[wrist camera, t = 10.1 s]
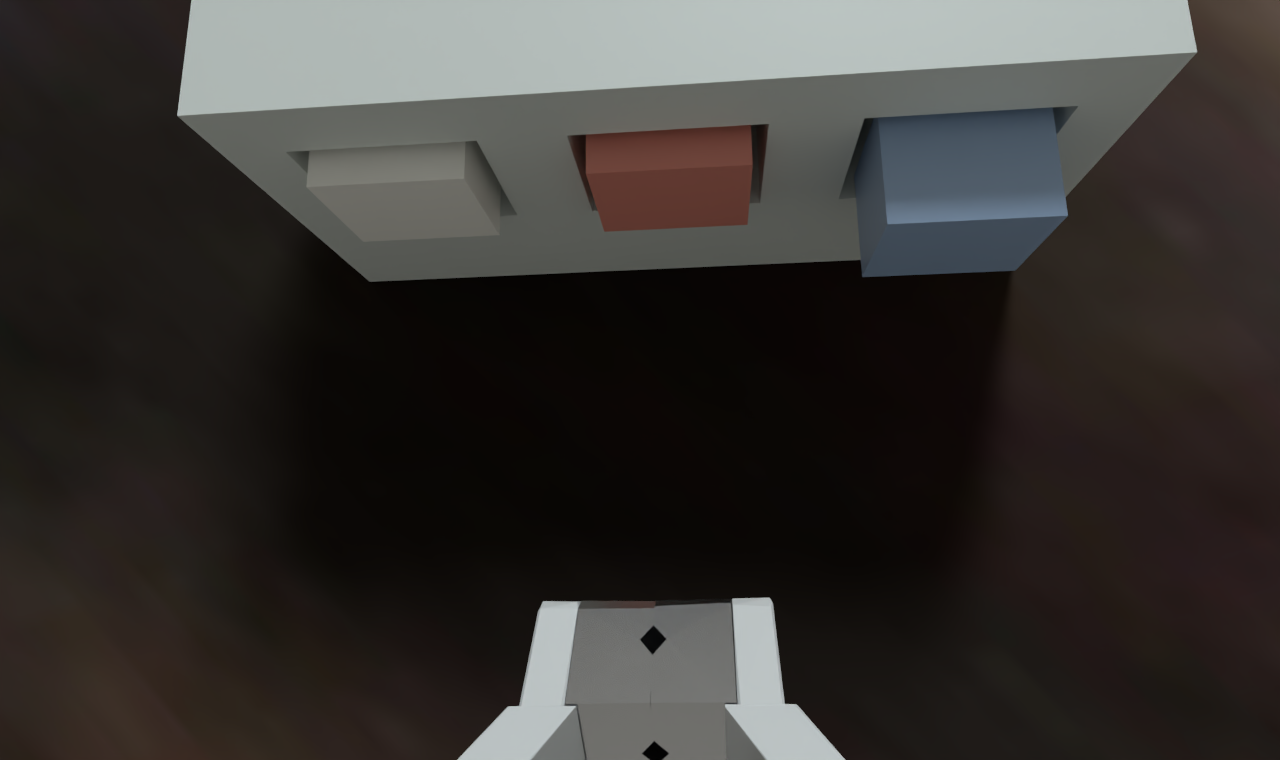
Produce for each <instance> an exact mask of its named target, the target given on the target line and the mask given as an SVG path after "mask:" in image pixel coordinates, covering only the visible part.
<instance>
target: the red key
mask: <svg viewBox="0 0 1280 760" xmlns="http://www.w3.org/2000/svg"><path fill="white" fill-rule="evenodd" d="M752 168H753V159H752V139H751V125H740V126H723V127H706V128H689V129H671V130H654V131H637V132H620V133H603V134H586V176H587V179H588V182H589V185H590V188H591V192H592V195H593V198H594V201H595V204H596V207H597V210H598V213H599V216H600V220H601V223H602V226H603V229H604V232H610V231H631V230H651V229H672V228H692V227H713V226H734V225H748V214H749V202H750V191H751V179H752Z"/></svg>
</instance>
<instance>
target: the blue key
mask: <svg viewBox="0 0 1280 760" xmlns="http://www.w3.org/2000/svg"><path fill="white" fill-rule="evenodd" d="M854 180H855V193H856V206H857V218H858V231H859V244H860V256H861V269H862V277H878V276H901V275H924V274H947V273H971V272H994V271H1015V270H1016V269H1017V268H1018V267H1019V266H1020V265H1021V264H1022V263H1023V262H1024V261H1025V260H1026V259H1027V258H1028V257H1029V256H1030V255H1031V254H1032V253H1033V251H1034V250H1035V249H1036V248H1037V247H1038V246H1039V245H1040V244H1041V243H1042V242H1043V241H1044V240H1045V239H1046V238H1047V237H1048V236H1049V235H1050V234H1051V233H1052V232H1053V231H1054V230H1055V229H1056V228H1057V227H1058V225H1059V224H1060V223H1061V222H1062V221H1063V220H1064V219H1065V218H1066V217H1067V216H1068V213H1067V206H1066V199H1065V191H1064V184H1063V177H1062V170H1061V163H1060V156H1059V149H1058V142H1057V135H1056V128H1055V121H1054V113H1053V107H1050V108H1033V109H1016V110H999V111H982V112H964V113H947V114H930V115H913V116H895V117H878V118H873V121H872V124H871V127H870V130H869V133H868V136H867V139H866V142H865V145H864V147H863V150H862V153H861V156H860V159H859V162H858V165H857V168H856V171H855V174H854Z"/></svg>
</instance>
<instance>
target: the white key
mask: <svg viewBox="0 0 1280 760" xmlns="http://www.w3.org/2000/svg"><path fill="white" fill-rule="evenodd" d="M306 187H307V188H308V189H309V190H310V191H311V192H312V193H313V194H314V195H315V196H316V197H317V198H318V199H319V200H320V201H321V202H322V203H323V204H324V205H325V206H326V207H328V208H329V209H330V210H331V211H332V212H333V213H334V214H335V215H336V216H337V217H338V218H339V219H340V220H341V221H342V222H343V223H344V224H345V225H346V226H347V227H348V228H349V229H350V230H351V231H353V232H354V233H355V234H356V235H357V236H358V237H359V238H360V239H361V240H362V241H363V242H369V241H389V240H410V239H431V238H451V237H472V236H492V235H500V202H501V185H500V183H499V181H498V179H497V177H496V175H495V174H494V172H493V170H492V168H491V166H490V164H489V163H488V161H487V159H486V157H485V155H484V153H483V152H482V150H481V148H480V146H479V144H478V142H477V141H465V142H447V143H430V144H413V145H396V146H379V147H361V148H344V149H327V150H310V151H309V161H308V173H307V185H306Z"/></svg>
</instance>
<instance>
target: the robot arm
mask: <svg viewBox="0 0 1280 760" xmlns="http://www.w3.org/2000/svg"><path fill="white" fill-rule="evenodd" d="M457 760H845V759H844V758H843V757H842V756H841V754H840V753H839V752H838V751H837V750H836V749H835V748H834V746H833V745H832V744H831V743H830V742H829V741H828V740H827V738H826V737H825V736H824V735H823V734H822V733H821V732H820V730H819V729H818V728H817V727H816V726H815V725H814V724H813V722H812V721H811V720H810V719H809V718H808V717H807V716H806V714H805V713H804V712H803V711H802V710H801V709H800V708H799V706H798V705H797V704H785V702H784V694H783V685H782V677H781V668H780V660H779V651H778V642H777V634H776V625H775V617H774V608H773V603H772V601H771V599H770V598H734V599H732V601H731V599H730V598H728V599H692V600H657V601H543V603H542V605H541V606H540V608H539V610H538V614H537V619H536V624H535V629H534V634H533V639H532V644H531V649H530V654H529V659H528V664H527V669H526V674H525V679H524V684H523V689H522V694H521V699H520V704H519V706H508V707H507V708H506V709H505V710H504V711H503V712H502V713H501V714H500V715H499V716H498V717H497V718H496V719H495V720H494V722H493V723H492V724H491V725H490V726H489V727H488V728H487V729H486V730H485V731H484V732H483V733H482V734H481V735H480V736H479V737H478V738H477V739H476V740H475V741H474V743H473V744H472V745H471V746H470V747H469V748H468V749H467V750H466V751H465V752H464V753H463V754H462V755H461V756H460V757H459V758H458V759H457Z"/></svg>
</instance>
